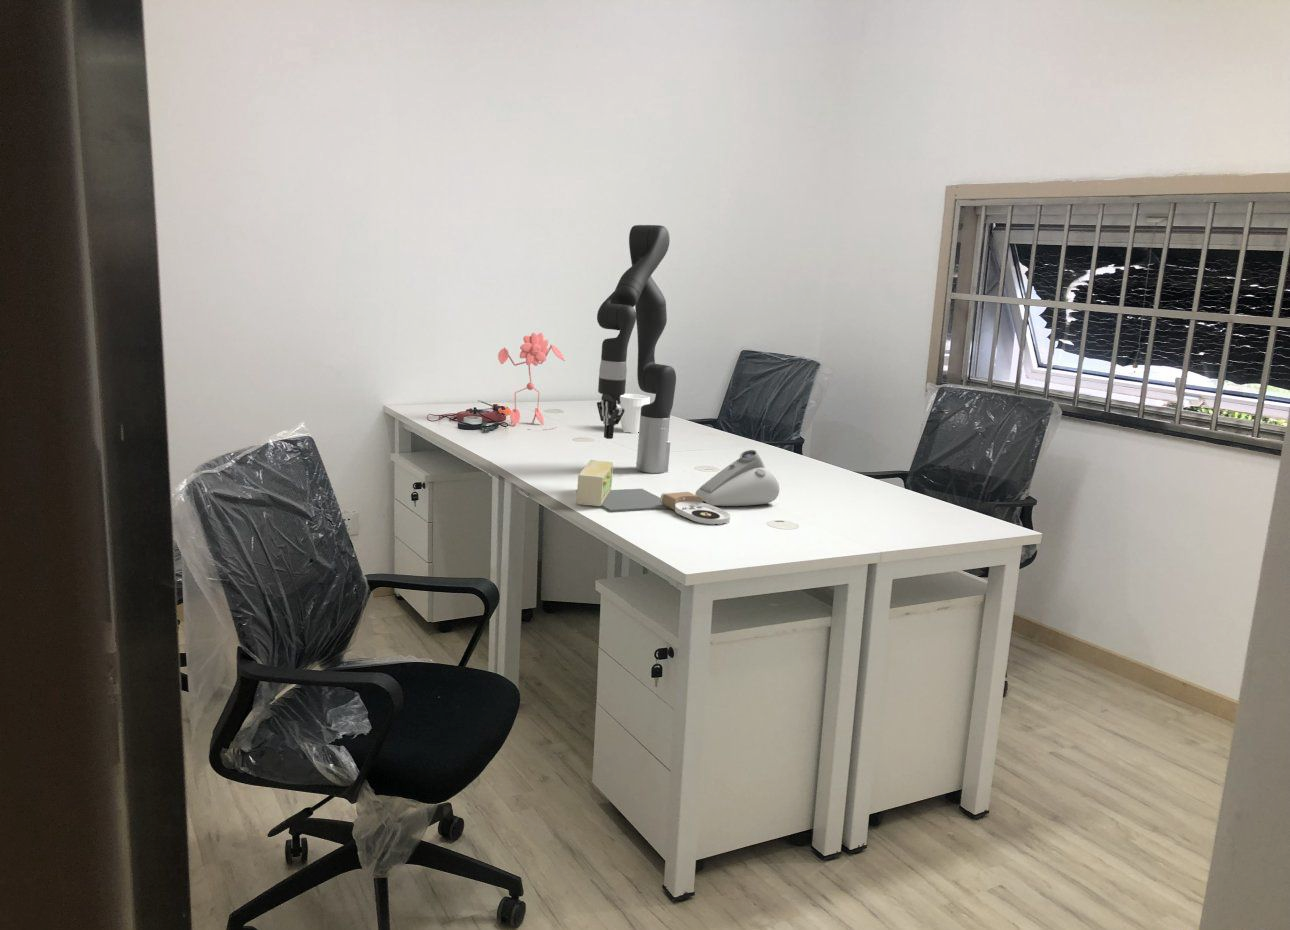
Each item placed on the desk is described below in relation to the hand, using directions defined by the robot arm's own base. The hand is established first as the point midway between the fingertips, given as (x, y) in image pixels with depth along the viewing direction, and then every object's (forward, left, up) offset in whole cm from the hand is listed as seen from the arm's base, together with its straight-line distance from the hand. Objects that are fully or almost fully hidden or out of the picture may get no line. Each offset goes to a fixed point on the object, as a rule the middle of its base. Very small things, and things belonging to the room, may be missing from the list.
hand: (608, 438), depth 280 cm
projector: (-30, +21, -15) cm, 40 cm away
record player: (-12, +31, -14) cm, 36 cm away
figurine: (-16, -95, -15) cm, 98 cm away
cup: (-52, -83, -15) cm, 99 cm away
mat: (0, +14, -15) cm, 20 cm away
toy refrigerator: (+2, +1, -10) cm, 10 cm away
